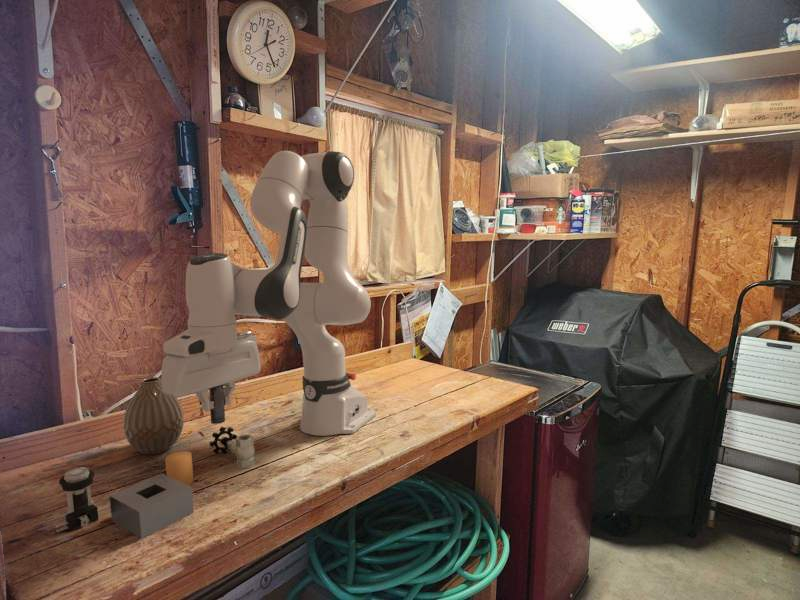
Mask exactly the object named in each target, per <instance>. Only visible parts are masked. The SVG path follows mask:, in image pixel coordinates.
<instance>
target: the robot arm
mask: <svg viewBox="0 0 800 600" xmlns="http://www.w3.org/2000/svg"><path fill="white" fill-rule="evenodd" d="M354 180H355V170H354V165H353V163H352V160H351V159H350V158H349V157H348V155H347V154H345V153H344V152H341V151H333V150H332V151H331V150H330V151H327V152H316V153H315V152H314V153H307V154H304V155H299V154H298V153H296V152H294V151H291V150H281V151H277V152H276V153H274V154H273V155H272V156H271V157H270V159H269V160H268V161H267V163H266V165H265V166H264V167H263V169H262V171H261V172H260V175H259V177H258V179H257V181H256V183H255V185H254V188H253V189H252V193H251V195H250V200H249V201H250V202H249V207H250V212H251V213H252V215H253V217H254V218H255V220H256V221H257V222H258V223H259V224H260V225H262V227H264V228H265V229H267V230H269V231H271V232H272V233H276V234H278V235H280V239H279V244H278V251H277V256H276V261H275V264H273V265H272V266H271V267H269V268H266V269H250V268H243V267H241V266H239V265H237V264H236V263H234V262H233V261H231V258H230V256H229V254H226V253H222V252H221V253H220V252H215V253H213V252H211V253H207V254H200V255H197V256H194V257H192V259H190V260H189V261H188V262H187V266H186V272H185V301H186V305H187V307H188V320H187V329H185V330H184V331H182V332H181V333H179V334H177V335H176V336H174V337H171V338H169V339H168V340H165V341H164V343H163V345H162V350H163V352H164V353H165V354H166V356H164V358H163V360H162V364H161V376H160V378H161V382H162V390H163V392H164V393H165V394H166V395H168V396H171V397H175V398H177V399H178V398H181V397H183V396H188V395H191V394H194V393H195V396H197V398H198V400H199V401H200V402H201V409H202V411H204V412H208V411H210V410H212V409H214V406H213V405H214V401H212V400H210V398H209V397H208V396H207V395H208V394H209V388H212V387H216V386H219V385H223V387H224V388H223V391H224V407H225V406H226V405H227V406H228V405H231V403H232V394H233V393H234V390H235V388H236V381H240V380H243V379H247V378H250V377H253V376H256V375H258V374H259V373H260V371H261V367H262V366H261V358H260V351H259V348H258V340H257V339H258V338H257V336H256V335H255V333H253V332H251V331H248V330H247V331H244V332H238V330H237V329H238V328H237V324H238V323H237V318H236V315H237V316H249V317H262V318H266V319H273V320H279V321H281V320H282V321H283V322H284V323H286V324H287V325H288V326H289V327H290V329H291V330H292V331H293V333H294V335H296V337H297V339H298V342H299V345H300V347H301V355H302V362H303V376H302V382H301V383H302V391H303V395H302V407H301V408H302V409H301V415H300V417H299V420H300V424H299V429H300V431H301V432H303V433H305V434H308V435H313V436H322V437H323V436H333V435H341V434H342V435H343V434H345V435H347V434H354V433H355V432H356V431H358V430H359V429H361V428H362V427H363V426H364V425H365V424H367V423H368V422H369V421H371V420H372V419H373V418H374V417H375V416H377V412H376V410H374V409H373V408H371V407H368V399H367V397H366V395H365V394H364V392H362V391H360V390H358V389H357V388H356V387H354V386H353V385H351V382H350V380H352V381H355V380H356V378H357V373H356V372H351V371H350V372H349V371H348V373H347V371H346V349H345V346H344V345H343V343H342V341H340V340H339V339H337V338H336V337H334V336H333V335H331V334H330V333H329V332H328V330H327V329H326V326H327V325H331V326H349V325H355V324H360V323H363V322H364V321H365V320H366V319H367V317H368V316H369V314H370V311H371V307H372V303H371V296H370V295H369V292H368V290H367V289H366V288H365V287H364V286H363V285H362V284H360V283H359V281H357V280H356V278H355V276H354V275H353V273H352V271H351V269H350V265H349V260H348V242H349V241H348V240H349V239H348V238H349V213H348V212H349V211H348V205H347V200H346V198H347V197H348V195H349V192H350V191H351V190H352V187H353V184H354ZM304 200H308V202H309V205H310V206H309V210H308V215H307V217H306V214H305V212H304V211H303V210H302V209H301V208H302V204H303V202H304ZM304 257H305V260H306V262H307V263H308V264H309V265H310V266H311V267H312V268H314V269H316V270H318V271H320V272H321V274H322V276H323V277H322V279H323V281H322V282H301V275H302V274H301V273H302V270H303V269H302V268H303V261H304ZM325 325H326V326H325Z"/></svg>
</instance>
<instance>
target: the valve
mask: <svg viewBox="0 0 800 600" xmlns="http://www.w3.org/2000/svg"><path fill="white" fill-rule="evenodd" d="M233 432H234V428H232V427H228V428H226V427H225V426H221V427H219V432H218V433H217V432H213V433H212V434H211V435H212V438H214V439H213V441H212V440H211V441H210V442H209V446H210V447H211V448H213V451H212V452H213V453H214V454H216V455H217V454H219V453H222V455H226V454H227V453H228V449H230V451H231V453H233V454H234V455H235V457H236V466H237V467H238V468H239V469H247V468H248V469H249V468H251V467H253V466H254V465H255V463H256V462H255V452H256V448H255V446H254V436H253V435H251V434H240V435H239V436H238V435H237V434H235V433H233ZM226 434H227V435H228V437H227V436H222V435H226ZM218 442H219V443H220V444H221V445H222V446H219V444H218ZM219 451H221V452H219Z"/></svg>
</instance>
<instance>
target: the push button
mask: <svg viewBox="0 0 800 600" xmlns="http://www.w3.org/2000/svg"><path fill="white" fill-rule="evenodd" d="M95 474H96V473H95V471H93V470H91V469H89V468H88V467H85V466H84V467H83V466H80V467H79V466H78V467H75V468H72V469H69V470H67V471H66V472H65V473H64V476H62V477H60V478H59V480H58V481H59V482H58V483H59V485H60V486H61V489H62V491H64V492H66V500H67V510H66V513H65V514H64V516H63V517H64V521H62V522H61V523H58V524H55V527H56V528H58V529H56V530H55V531H56V533H59V532H61V531H64V530H69V531H73V530H76V529H78V528H81V527H85V526H87V525H88V524H89V523H92V522H93V523H94V522H97V521H99V509H98V506H96V505H95V504H94V501H93V500H92V494H91V493H92V492H91V485H92V484H93V483H94V477H95V476H96V475H95ZM59 527H60V528H59Z"/></svg>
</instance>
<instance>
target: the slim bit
mask: <svg viewBox="0 0 800 600" xmlns="http://www.w3.org/2000/svg"><path fill="white" fill-rule="evenodd" d="M208 394H209V400H212V401H214V405H213V406H214V409H212V410H209V411H210V423H211V424H213V425H218V424H223V423H225V422H226V412H225V406H224V386H223V385H219V386H216V387H212V388H209V389H208Z"/></svg>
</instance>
